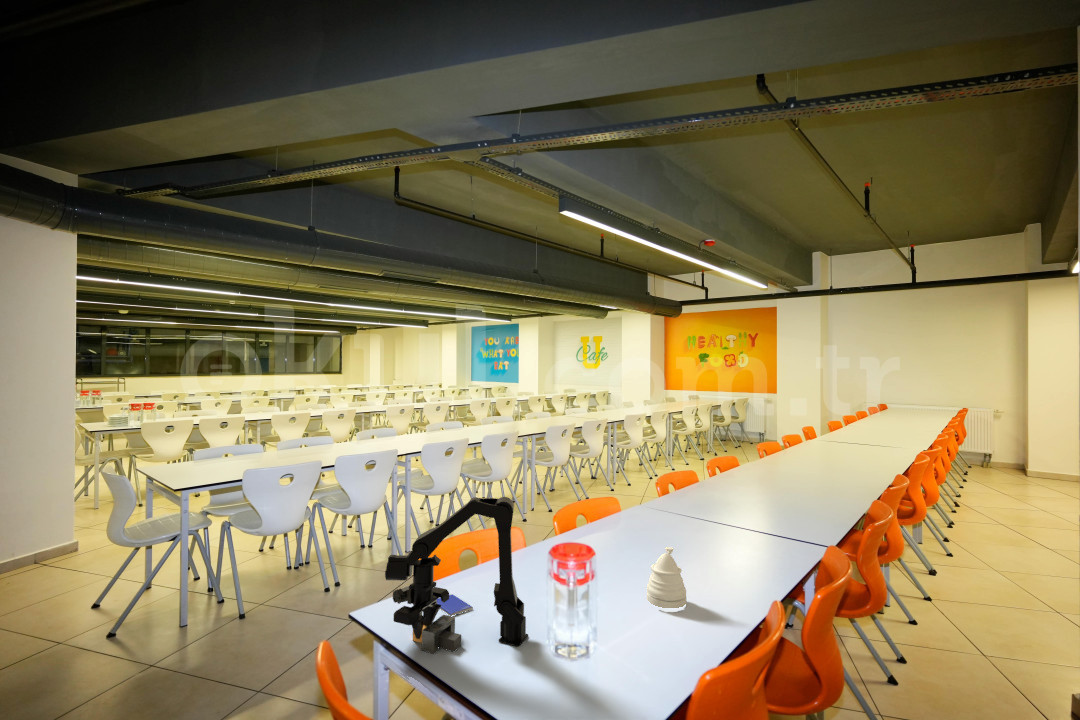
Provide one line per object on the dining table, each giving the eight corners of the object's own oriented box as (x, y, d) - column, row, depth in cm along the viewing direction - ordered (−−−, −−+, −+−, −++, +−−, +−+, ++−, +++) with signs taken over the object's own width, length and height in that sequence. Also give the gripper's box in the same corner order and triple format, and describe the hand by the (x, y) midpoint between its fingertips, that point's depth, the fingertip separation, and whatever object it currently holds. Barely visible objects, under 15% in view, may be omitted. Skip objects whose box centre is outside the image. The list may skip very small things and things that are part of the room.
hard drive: (473, 606, 161) (453, 593, 171) (450, 613, 156) (431, 600, 165) (472, 611, 161) (453, 598, 171) (450, 618, 156) (431, 605, 165)
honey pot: (660, 592, 176) (659, 540, 177) (693, 604, 167) (693, 549, 167) (639, 603, 167) (639, 549, 168) (673, 616, 158) (673, 559, 158)
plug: (461, 645, 139) (461, 634, 139) (454, 651, 136) (454, 640, 136) (420, 634, 145) (420, 624, 145) (412, 640, 142) (412, 629, 142)
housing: (454, 636, 144) (455, 617, 144) (434, 653, 135) (434, 633, 135) (443, 633, 146) (443, 614, 146) (421, 650, 136) (422, 630, 137)
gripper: (420, 564, 155) (419, 615, 154) (378, 587, 138) (377, 644, 137) (450, 570, 150) (449, 623, 150) (411, 594, 133) (409, 654, 133)
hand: (422, 635), depth 142 cm, fingers closed on plug, 3 cm apart
